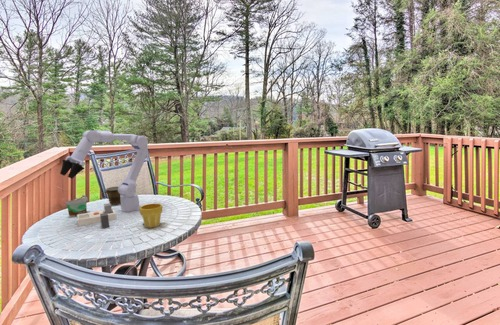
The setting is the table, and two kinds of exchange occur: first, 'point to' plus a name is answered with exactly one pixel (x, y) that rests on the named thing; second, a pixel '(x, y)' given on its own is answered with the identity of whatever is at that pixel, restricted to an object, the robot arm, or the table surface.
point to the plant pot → (151, 214)
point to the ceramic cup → (113, 195)
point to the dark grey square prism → (104, 220)
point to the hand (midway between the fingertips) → (66, 176)
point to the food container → (77, 206)
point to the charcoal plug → (107, 208)
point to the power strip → (93, 217)
